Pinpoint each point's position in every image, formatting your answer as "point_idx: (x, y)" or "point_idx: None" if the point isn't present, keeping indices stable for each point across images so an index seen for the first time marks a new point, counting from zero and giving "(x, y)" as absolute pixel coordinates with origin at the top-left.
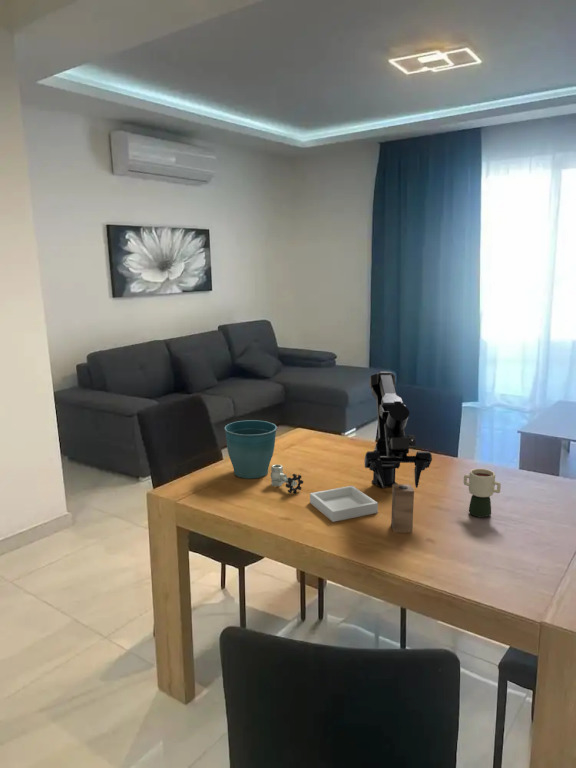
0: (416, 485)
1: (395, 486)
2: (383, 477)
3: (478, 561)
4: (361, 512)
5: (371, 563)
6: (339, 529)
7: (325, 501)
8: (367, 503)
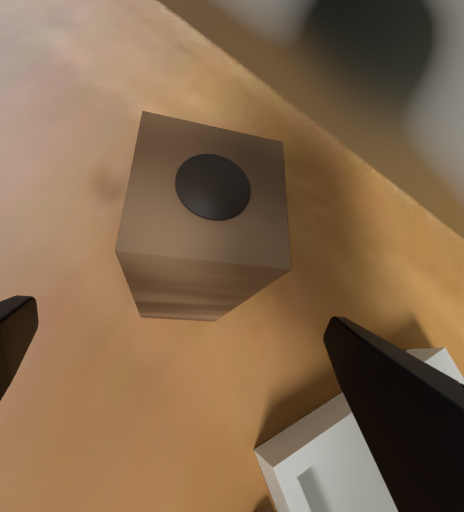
0: (30, 299)
1: (271, 221)
2: (396, 359)
3: (10, 58)
4: (331, 407)
5: (298, 119)
6: (381, 291)
7: None
8: (325, 454)
